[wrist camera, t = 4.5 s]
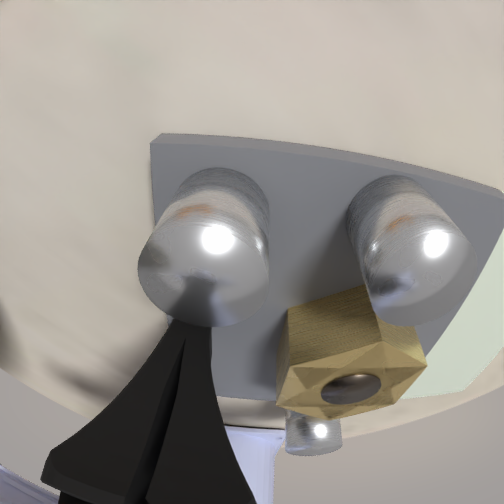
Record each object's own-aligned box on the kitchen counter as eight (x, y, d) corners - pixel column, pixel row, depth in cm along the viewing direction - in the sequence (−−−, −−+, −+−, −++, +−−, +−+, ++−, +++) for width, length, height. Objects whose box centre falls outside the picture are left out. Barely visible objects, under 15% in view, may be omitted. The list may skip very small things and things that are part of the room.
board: (458, 379, 16) (462, 391, 15) (184, 376, 16) (181, 391, 15) (566, 216, 9) (578, 227, 8) (161, 133, 8) (150, 143, 8)
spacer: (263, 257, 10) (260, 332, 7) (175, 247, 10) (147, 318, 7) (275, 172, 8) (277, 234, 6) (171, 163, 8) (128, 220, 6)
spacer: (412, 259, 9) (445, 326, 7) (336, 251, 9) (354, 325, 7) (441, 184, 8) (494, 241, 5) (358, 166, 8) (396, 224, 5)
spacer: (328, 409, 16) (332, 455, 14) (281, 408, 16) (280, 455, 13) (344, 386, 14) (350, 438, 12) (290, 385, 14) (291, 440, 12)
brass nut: (372, 373, 14) (380, 419, 12) (271, 371, 14) (270, 421, 11) (424, 288, 10) (448, 341, 8) (295, 277, 10) (299, 340, 8)
